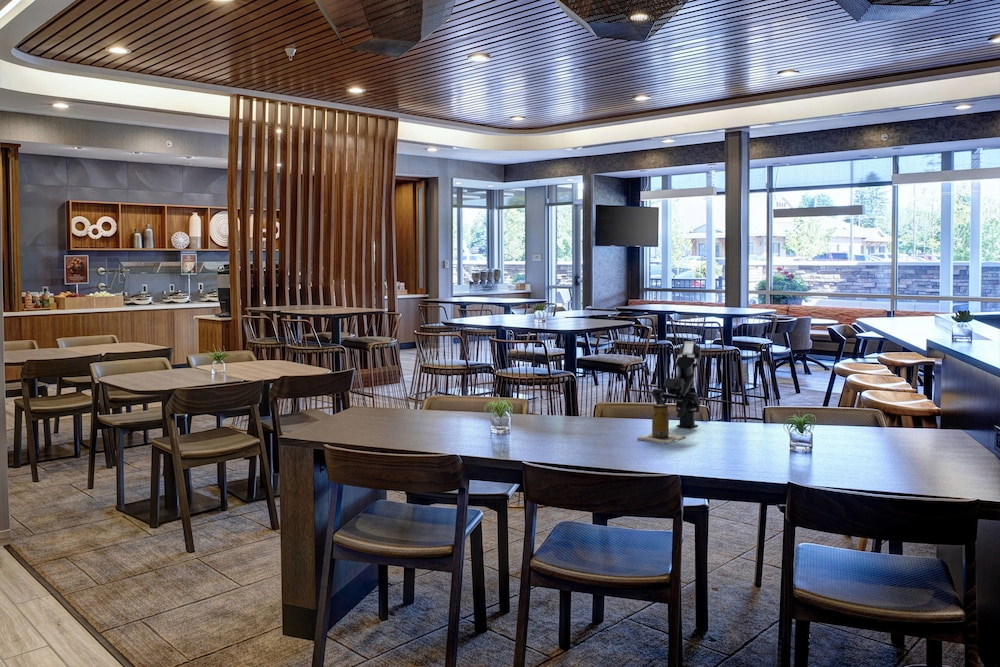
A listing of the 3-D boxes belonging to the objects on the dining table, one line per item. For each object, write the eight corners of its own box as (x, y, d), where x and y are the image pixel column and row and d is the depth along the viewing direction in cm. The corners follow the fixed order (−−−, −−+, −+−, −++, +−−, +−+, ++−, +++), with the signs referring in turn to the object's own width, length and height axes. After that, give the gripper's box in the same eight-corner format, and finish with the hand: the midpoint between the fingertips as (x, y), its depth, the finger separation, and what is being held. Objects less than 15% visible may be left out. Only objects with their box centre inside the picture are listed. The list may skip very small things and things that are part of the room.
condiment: (659, 434, 301) (659, 403, 300) (677, 437, 295) (677, 405, 294) (646, 437, 297) (646, 405, 296) (665, 440, 290) (665, 408, 289)
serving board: (657, 433, 306) (657, 431, 306) (685, 438, 298) (685, 435, 298) (637, 439, 296) (637, 437, 296) (665, 444, 288) (665, 442, 287)
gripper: (653, 368, 308) (637, 400, 301) (696, 372, 295) (680, 405, 288) (664, 385, 314) (649, 417, 307) (707, 390, 301) (692, 423, 294)
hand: (667, 415), depth 299 cm, fingers open, 9 cm apart
